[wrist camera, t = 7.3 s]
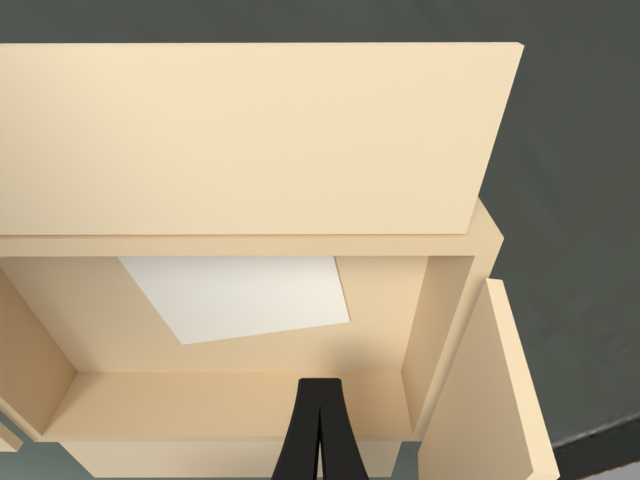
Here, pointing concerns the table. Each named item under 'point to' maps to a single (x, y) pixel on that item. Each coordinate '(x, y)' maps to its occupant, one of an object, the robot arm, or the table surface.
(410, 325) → the carton
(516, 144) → the table surface
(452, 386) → the flap
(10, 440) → the flap
